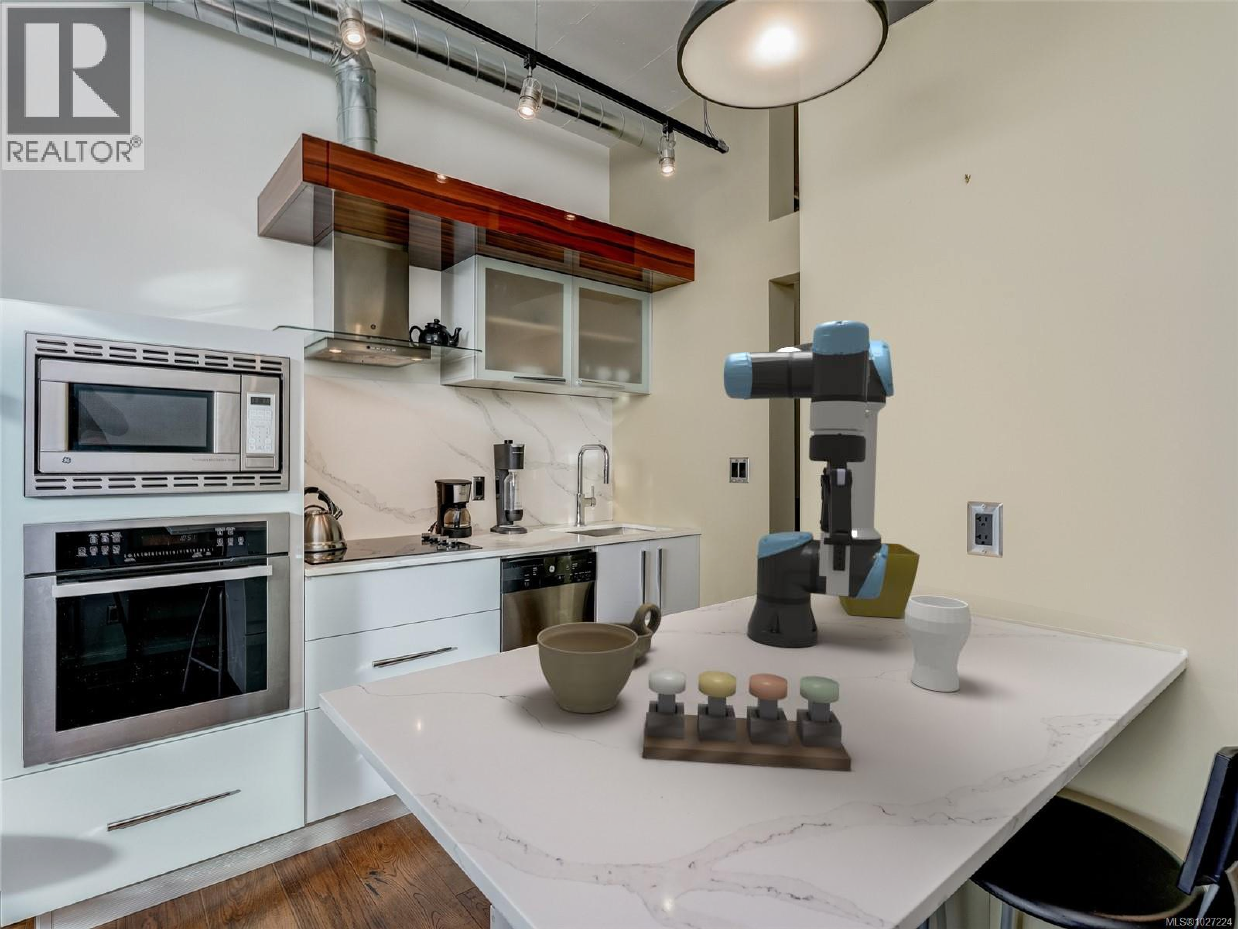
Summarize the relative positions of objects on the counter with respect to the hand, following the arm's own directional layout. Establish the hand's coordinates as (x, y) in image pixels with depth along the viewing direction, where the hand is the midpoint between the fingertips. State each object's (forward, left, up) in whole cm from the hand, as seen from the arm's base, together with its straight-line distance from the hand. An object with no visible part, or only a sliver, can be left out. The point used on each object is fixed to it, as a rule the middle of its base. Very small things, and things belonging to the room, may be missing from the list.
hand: (832, 585), depth 90 cm
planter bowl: (-21, -30, -23) cm, 43 cm away
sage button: (+1, -2, -19) cm, 19 cm away
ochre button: (-3, -16, -19) cm, 24 cm away
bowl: (-41, -18, -23) cm, 51 cm away
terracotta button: (-1, -9, -19) cm, 21 cm away
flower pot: (-64, +55, -23) cm, 87 cm away
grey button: (-6, -22, -18) cm, 29 cm away
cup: (-16, +33, -23) cm, 43 cm away
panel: (-2, -12, -23) cm, 26 cm away
